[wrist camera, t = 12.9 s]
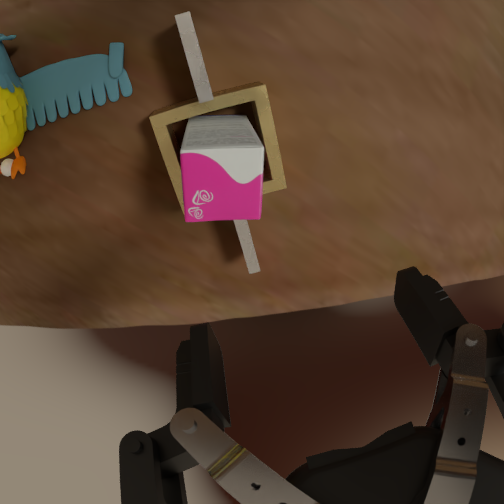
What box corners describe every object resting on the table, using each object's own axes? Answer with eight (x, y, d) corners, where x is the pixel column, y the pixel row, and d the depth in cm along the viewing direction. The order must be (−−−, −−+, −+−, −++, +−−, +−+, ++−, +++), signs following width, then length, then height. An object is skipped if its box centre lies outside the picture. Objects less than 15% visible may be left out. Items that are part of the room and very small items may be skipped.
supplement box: (186, 115, 29) (179, 147, 20) (247, 113, 30) (270, 144, 20) (188, 169, 32) (184, 225, 23) (245, 167, 33) (265, 221, 24)
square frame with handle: (131, 37, 23) (119, 34, 19) (240, 7, 23) (247, -2, 19) (206, 257, 39) (208, 284, 35) (290, 235, 39) (301, 259, 35)
